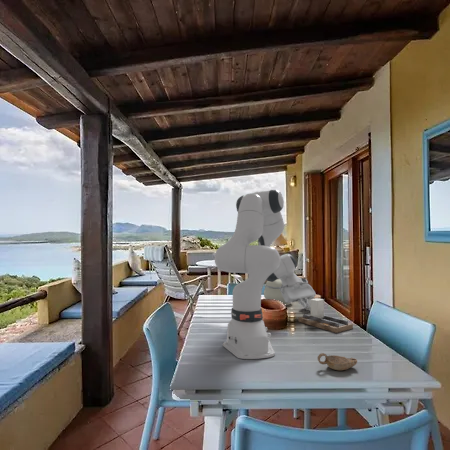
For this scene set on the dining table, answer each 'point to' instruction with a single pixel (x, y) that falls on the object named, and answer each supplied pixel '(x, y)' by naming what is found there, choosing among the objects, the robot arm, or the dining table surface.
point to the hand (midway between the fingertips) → (307, 306)
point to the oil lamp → (337, 362)
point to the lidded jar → (310, 302)
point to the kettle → (274, 291)
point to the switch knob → (317, 308)
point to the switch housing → (326, 323)
